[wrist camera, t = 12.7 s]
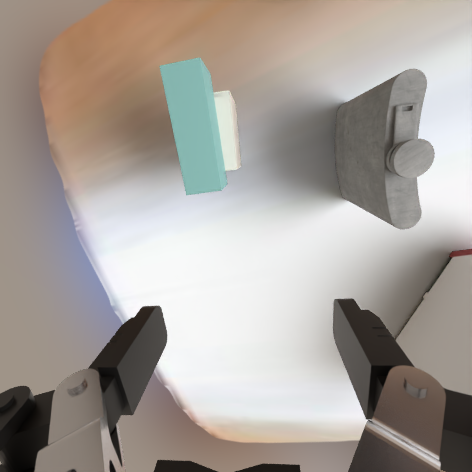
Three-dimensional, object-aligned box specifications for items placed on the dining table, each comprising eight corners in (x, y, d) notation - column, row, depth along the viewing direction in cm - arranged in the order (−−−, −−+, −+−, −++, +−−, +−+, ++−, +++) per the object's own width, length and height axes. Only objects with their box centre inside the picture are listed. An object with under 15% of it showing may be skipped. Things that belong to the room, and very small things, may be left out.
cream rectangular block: (188, 109, 42) (170, 98, 33) (235, 103, 41) (229, 90, 32) (197, 170, 45) (182, 175, 36) (241, 165, 44) (237, 169, 35)
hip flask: (360, 198, 44) (436, 234, 25) (336, 202, 45) (393, 240, 26) (356, 100, 39) (447, 54, 20) (330, 106, 40) (395, 67, 21)
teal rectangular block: (176, 80, 32) (159, 65, 26) (210, 74, 31) (200, 57, 26) (197, 188, 36) (186, 195, 31) (227, 184, 36) (221, 190, 30)
